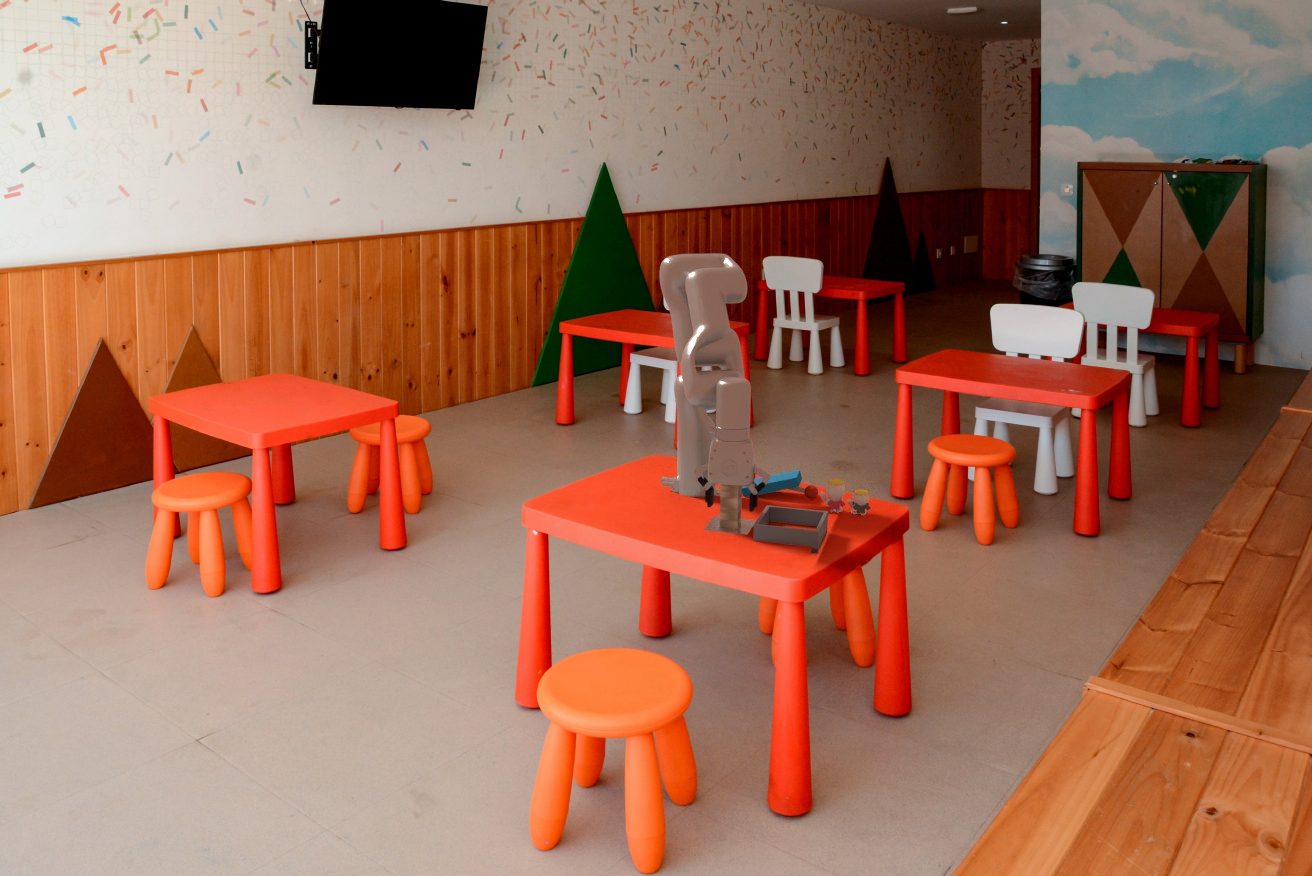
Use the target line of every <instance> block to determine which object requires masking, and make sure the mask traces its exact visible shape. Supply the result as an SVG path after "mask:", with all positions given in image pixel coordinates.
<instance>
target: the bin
mask: <svg viewBox="0 0 1312 876" xmlns="http://www.w3.org/2000/svg"><path fill="white" fill-rule="evenodd" d="M828 518H829V511H827V510H818V509H817V510H816V509H808V508H807V509H806V508H799V507H787V506H779V505H778V506H777V505H768V504H767V505H766V506H765V507H764V509H763V510H762V512H761V513H760V515H759V516H758V518H757V519H756V520H757V521H756V522H755V524H754V525H753V535H752V536H753V538H752V539H753V541H756V542H757V541H758V542H765V543H772V544H773V543H775V544H783V545H792V546H793V545H794V546H801V547H809V548H810V547H811V551H810V554H814V553H817V554H819V551H820V550H821V547H822V545H823V543H824V540H825V538H826V536H827V535H828V534H827V533H828V526H829V524H828V522H829V519H828ZM770 522H771V523H779V524H780V523H782V524H791V525H800V526H810V527H816V528H815V529H807V528H797V527H790V526H781V525H780V526H779V525H769V523H770ZM817 554H816V555H817Z"/></svg>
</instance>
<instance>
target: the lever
mask: <svg viewBox="0 0 1312 876" xmlns="http://www.w3.org/2000/svg"><path fill="white" fill-rule="evenodd" d="M801 473H802V472H801V470H800V469H798V470H797V469H796V470H792V471H786V472H783V473H776V474H772V475H771V474H770V475H771V477H770V479H769V481H768V482H767V484H766V486H765V487H764V488H763V489H762V490H761V491H759V492H758V496H759V495H763V494H769V493H773V492H778V491H784V490H790V491H794V492H798V493H802V494H804V496H805V497H806V498H807V499H809V500H812V499H813V498H814V499H816V498H817V496H818V494H819V489H818V488H817V486H815V485H808V486H806V487H801V486H800V485H801V483H802V481H803V480H802V479H803V477H802V474H801ZM754 481H755V482H756V484H757V485H758V484H760V483H761V481H762V477H757V478H756V477H755V480H754ZM750 494H751V491H750V490H749V488H748V487H742V497H743V496H745V497H744V498H750Z"/></svg>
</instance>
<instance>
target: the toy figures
mask: <svg viewBox="0 0 1312 876" xmlns="http://www.w3.org/2000/svg"><path fill="white" fill-rule="evenodd" d="M845 482H846V481H845V480H843V479H841V478H832V479H829V480H827V484H826V488H825V489H826V490H825V491H826V493H825V492H824V491H823V490H822V491H820V492H819V495H820V499H821V500H822V501H823V502H824V504H825V505H826V506H828V507H829V508H831V509H830V511H829V512H831V513H832V512H833V513H836V512H841V513H842V512H843V511H844V509H843V507H844V506H846V502H845V500H844V499H843V497H844V496H845V495H846V485H845V484H846V483H845ZM869 493H870V492H869V491H868V490H866V489H857V490H856V489H855V490H853V494H852V499H850V498H847V499H846V501H847V504H848V506H849V507H850V508H851V510H850V511H851V513H850V514H852V513H854V514H860V515H861V514H866V513H867V511H870V509H871V506H870V503H869V501H870V495H869ZM854 514H853V515H854ZM866 515H867V514H866Z"/></svg>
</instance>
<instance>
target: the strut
mask: <svg viewBox="0 0 1312 876" xmlns="http://www.w3.org/2000/svg"><path fill="white" fill-rule="evenodd" d="M719 490H720V496H719V499H720V501H719V503H720V504H719V516H720V527H725V528H735V529H737V528H738V527H739V525H740V524H741V519H742V501H743V495H742V487H739V486H727V485H720V488H719Z"/></svg>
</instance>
